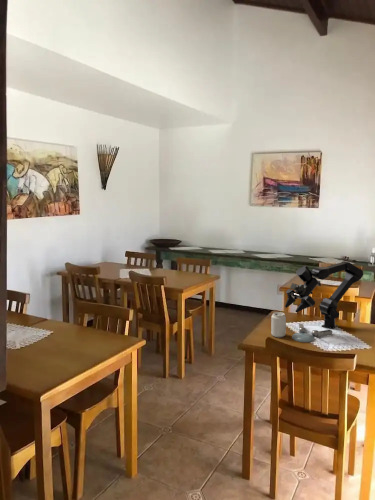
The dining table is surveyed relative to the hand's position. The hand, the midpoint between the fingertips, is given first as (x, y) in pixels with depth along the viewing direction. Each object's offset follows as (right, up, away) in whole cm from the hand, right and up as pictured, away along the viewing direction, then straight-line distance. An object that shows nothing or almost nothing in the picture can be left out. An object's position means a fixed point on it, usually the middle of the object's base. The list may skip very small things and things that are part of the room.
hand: (290, 309), depth 217 cm
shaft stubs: (+12, -13, +2) cm, 17 cm away
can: (-7, -14, -1) cm, 15 cm away
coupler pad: (+5, -14, -6) cm, 16 cm away
